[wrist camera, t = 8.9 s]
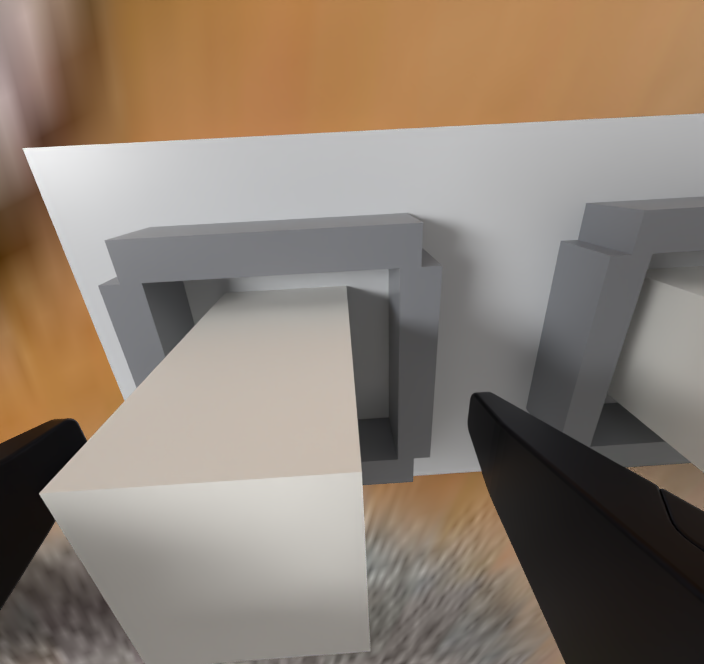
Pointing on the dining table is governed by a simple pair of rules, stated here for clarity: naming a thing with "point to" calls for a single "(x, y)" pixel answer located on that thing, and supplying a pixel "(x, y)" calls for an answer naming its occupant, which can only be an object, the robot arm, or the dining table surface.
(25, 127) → the dining table surface
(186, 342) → the cream rectangular block
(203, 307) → the housing
